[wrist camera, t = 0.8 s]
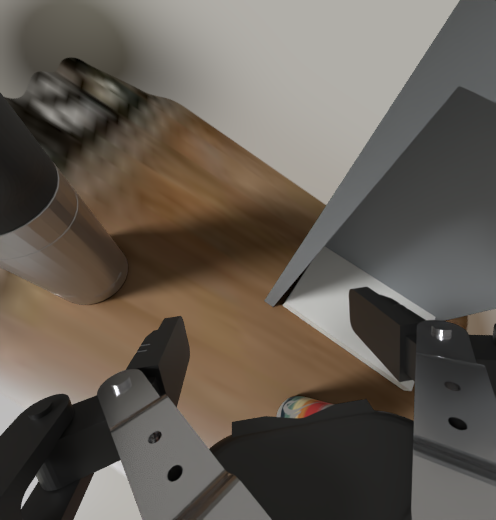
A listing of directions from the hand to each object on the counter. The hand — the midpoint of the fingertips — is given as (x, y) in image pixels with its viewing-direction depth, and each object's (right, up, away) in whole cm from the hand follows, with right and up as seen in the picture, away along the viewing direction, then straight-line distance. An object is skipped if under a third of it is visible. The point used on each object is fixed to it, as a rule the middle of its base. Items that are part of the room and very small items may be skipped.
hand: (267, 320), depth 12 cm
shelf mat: (+15, -5, +25) cm, 29 cm away
